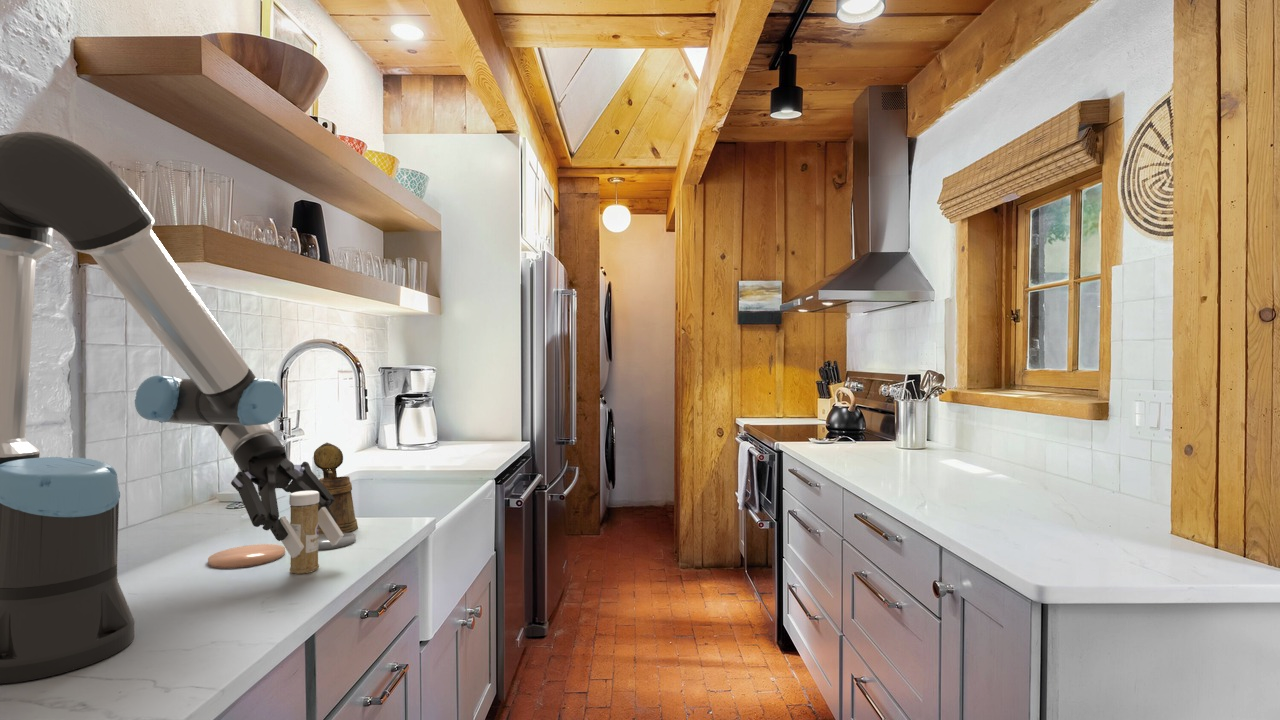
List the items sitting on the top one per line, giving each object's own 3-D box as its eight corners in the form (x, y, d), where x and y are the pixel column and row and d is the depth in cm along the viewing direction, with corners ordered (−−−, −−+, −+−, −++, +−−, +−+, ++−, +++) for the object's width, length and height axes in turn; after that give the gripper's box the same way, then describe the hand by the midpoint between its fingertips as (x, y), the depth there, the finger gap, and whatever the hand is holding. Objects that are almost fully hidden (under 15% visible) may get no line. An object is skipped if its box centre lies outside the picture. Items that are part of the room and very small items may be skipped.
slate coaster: (309, 553, 118) (309, 549, 119) (292, 542, 126) (292, 538, 126) (363, 542, 126) (363, 538, 126) (344, 533, 133) (344, 529, 133)
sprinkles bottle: (320, 571, 108) (321, 492, 108) (290, 576, 105) (290, 495, 106) (317, 564, 112) (317, 488, 112) (287, 569, 109) (288, 491, 109)
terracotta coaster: (216, 572, 107) (216, 568, 107) (201, 557, 116) (201, 553, 116) (293, 557, 116) (293, 553, 116) (274, 544, 124) (274, 540, 124)
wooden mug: (347, 518, 146) (348, 440, 146) (362, 531, 135) (362, 446, 135) (304, 524, 140) (305, 443, 141) (315, 537, 130) (316, 450, 130)
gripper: (294, 453, 124) (354, 544, 118) (186, 468, 106) (251, 578, 99) (313, 427, 122) (376, 519, 116) (207, 438, 104) (275, 548, 97)
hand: (318, 546), depth 107 cm, fingers open, 7 cm apart
